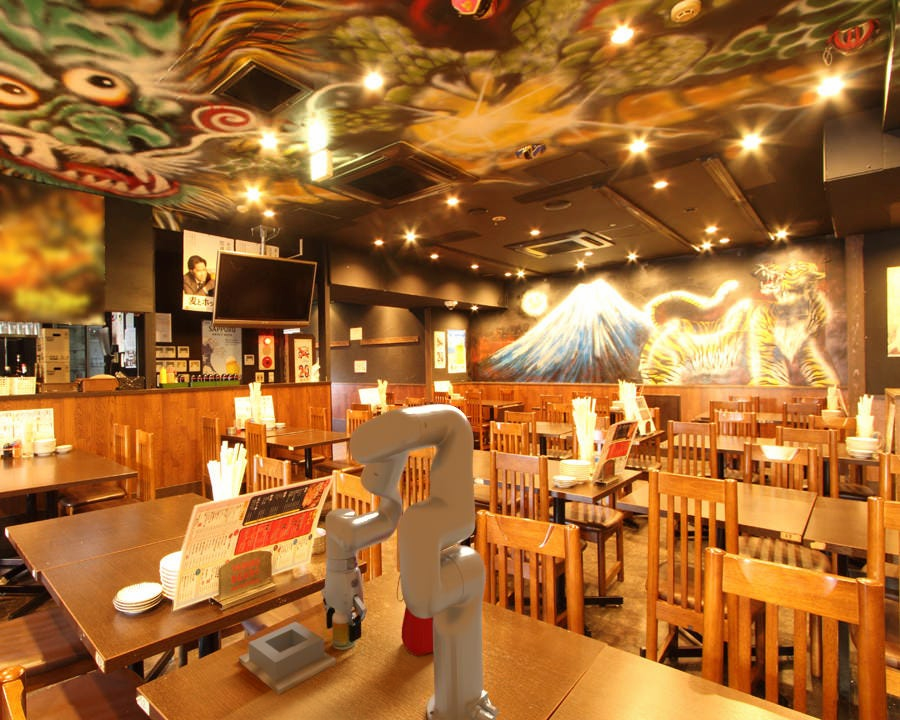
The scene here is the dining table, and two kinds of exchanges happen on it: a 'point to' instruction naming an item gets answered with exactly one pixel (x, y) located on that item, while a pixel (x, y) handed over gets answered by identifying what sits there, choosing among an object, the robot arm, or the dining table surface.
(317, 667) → the gray tray
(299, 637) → the socket holder
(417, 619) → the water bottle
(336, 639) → the supplement bottle
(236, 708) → the dining table surface
